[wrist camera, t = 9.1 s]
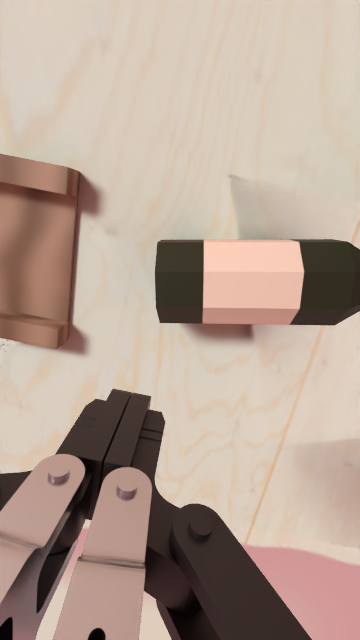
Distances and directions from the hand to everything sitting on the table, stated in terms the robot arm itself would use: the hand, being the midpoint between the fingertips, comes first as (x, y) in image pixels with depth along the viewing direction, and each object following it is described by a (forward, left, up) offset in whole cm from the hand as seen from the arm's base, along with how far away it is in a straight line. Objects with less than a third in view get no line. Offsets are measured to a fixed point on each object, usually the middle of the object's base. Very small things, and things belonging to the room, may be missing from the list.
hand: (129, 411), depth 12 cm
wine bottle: (+1, -1, -20) cm, 20 cm away
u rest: (+16, -6, -24) cm, 29 cm away
